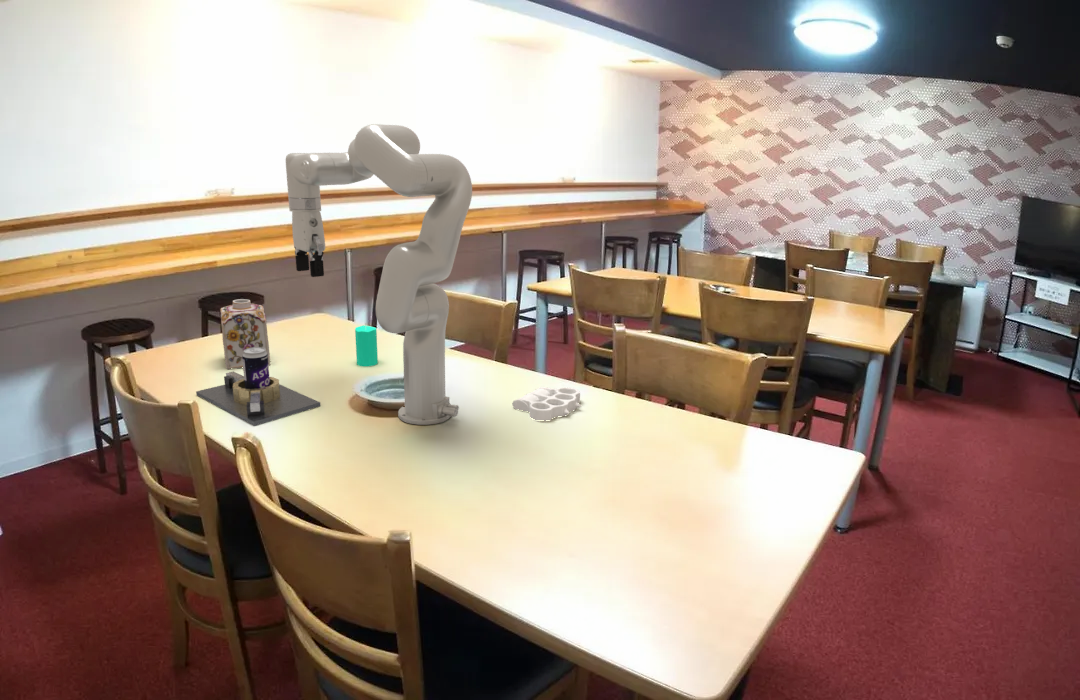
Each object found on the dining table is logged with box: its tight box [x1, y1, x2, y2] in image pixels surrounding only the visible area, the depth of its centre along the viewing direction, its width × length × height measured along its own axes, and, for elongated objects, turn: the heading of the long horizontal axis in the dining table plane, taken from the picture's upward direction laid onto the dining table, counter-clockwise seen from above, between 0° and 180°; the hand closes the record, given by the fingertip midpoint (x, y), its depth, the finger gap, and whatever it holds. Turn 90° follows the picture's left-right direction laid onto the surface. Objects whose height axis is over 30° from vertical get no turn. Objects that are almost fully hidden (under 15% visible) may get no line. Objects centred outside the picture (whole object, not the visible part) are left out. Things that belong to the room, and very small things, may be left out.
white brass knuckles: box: [511, 386, 582, 421], centre depth 173 cm, size 3×18×15 cm
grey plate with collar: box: [195, 370, 322, 427], centre depth 171 cm, size 28×17×4 cm, turn 50°
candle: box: [354, 322, 379, 368], centre depth 201 cm, size 6×6×12 cm
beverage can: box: [242, 347, 270, 389], centre depth 170 cm, size 6×6×12 cm
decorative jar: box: [219, 298, 271, 370], centre depth 198 cm, size 12×12×18 cm
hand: (310, 273), depth 178 cm, fingers open, 9 cm apart
